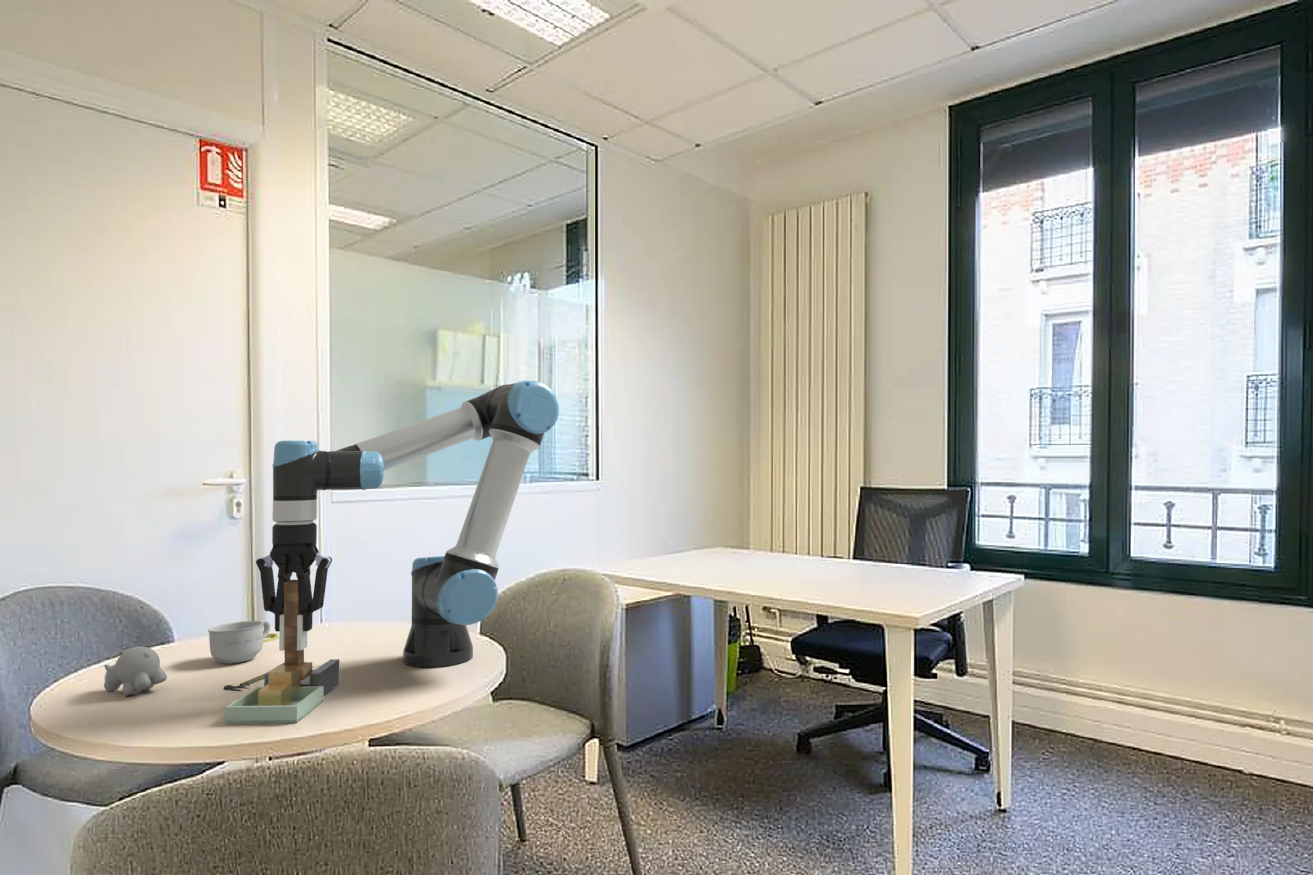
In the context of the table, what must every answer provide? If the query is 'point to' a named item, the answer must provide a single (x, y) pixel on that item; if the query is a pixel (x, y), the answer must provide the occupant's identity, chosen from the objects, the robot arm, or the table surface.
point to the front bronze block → (275, 695)
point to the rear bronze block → (286, 675)
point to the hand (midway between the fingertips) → (293, 648)
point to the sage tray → (274, 707)
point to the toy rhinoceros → (134, 671)
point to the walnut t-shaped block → (293, 628)
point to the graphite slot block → (320, 676)
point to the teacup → (237, 640)
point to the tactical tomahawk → (244, 684)
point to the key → (275, 636)
